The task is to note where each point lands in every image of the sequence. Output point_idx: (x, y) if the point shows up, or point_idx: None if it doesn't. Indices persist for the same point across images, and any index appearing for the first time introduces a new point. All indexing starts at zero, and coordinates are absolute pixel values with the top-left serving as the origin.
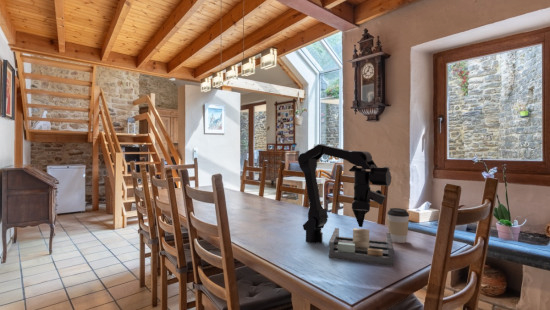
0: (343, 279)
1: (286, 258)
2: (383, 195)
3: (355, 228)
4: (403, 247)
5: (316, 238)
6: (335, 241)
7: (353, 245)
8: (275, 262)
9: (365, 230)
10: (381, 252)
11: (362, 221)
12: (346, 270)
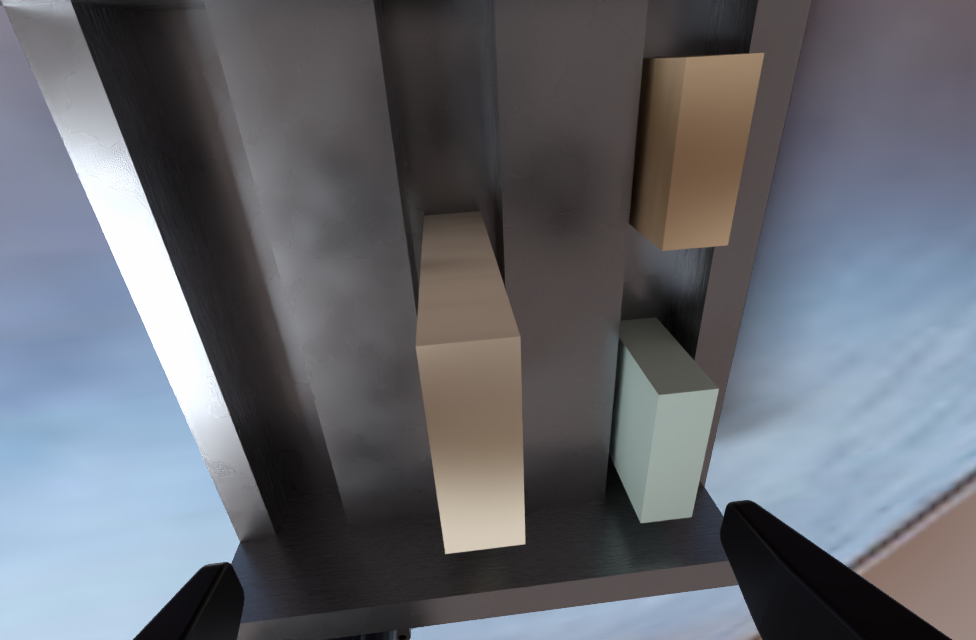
0: (968, 323)
1: (680, 621)
2: None
3: (454, 530)
4: None
5: (378, 637)
6: (564, 540)
7: (714, 399)
8: (745, 633)
9: (517, 397)
10: (752, 67)
11: (887, 613)
12: (822, 331)
